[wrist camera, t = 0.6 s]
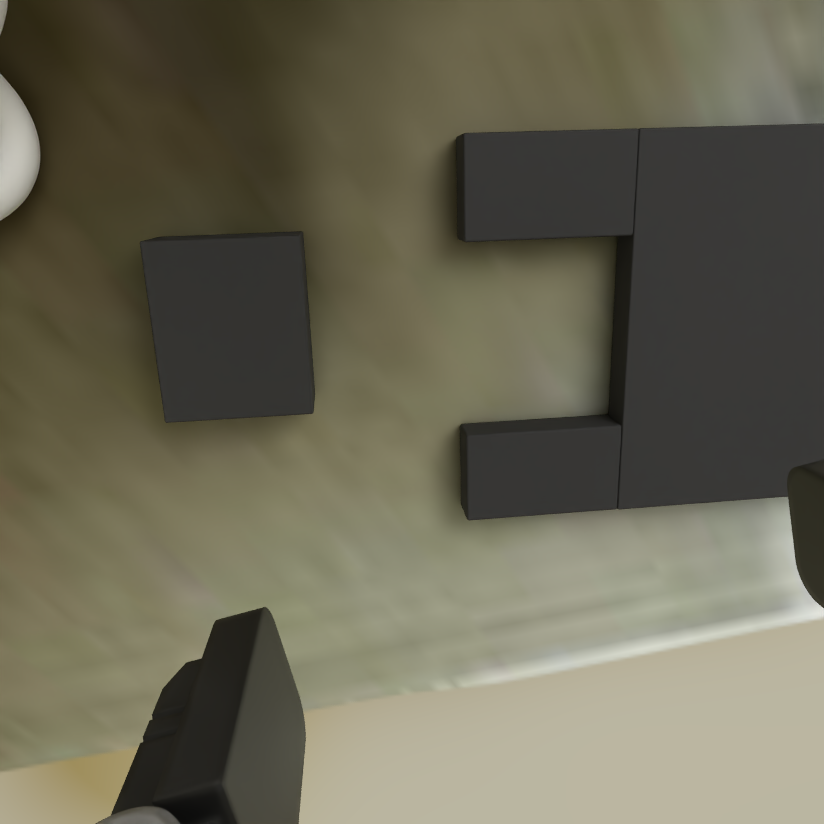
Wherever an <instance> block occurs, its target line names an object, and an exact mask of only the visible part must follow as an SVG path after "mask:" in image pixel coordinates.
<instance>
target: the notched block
mask: <svg viewBox="0 0 824 824" xmlns="http://www.w3.org/2000/svg"><path fill="white" fill-rule="evenodd" d="M456 165H457V238H458V239H459V240H462V241H464V242H481V241H506V240H531V239H556V238H580V237H605V236H618V243H617V263H616V282H615V302H614V321H613V341H612V360H611V380H610V399H609V415H595V416H579V417H563V418H548V419H532V420H516V421H501V422H485V423H469V424H461V425H460V465H461V505H462V508H463V510H464V513H465V515H466V517H467V520H480V519H493V518H506V517H519V516H533V515H546V514H559V513H572V512H585V511H598V510H611V509H629V508H643V507H656V506H669V505H682V504H695V503H708V502H721V501H734V500H747V499H760V498H773V497H786V496H788V490H787V478H788V474H789V472H790V470H791V469H792V468H794V467H797V466H801V465H805V464H808V463H812V462H816V461H820V460H823V459H824V124H789V125H751V126H713V127H675V128H640V129H601V130H563V131H525V132H487V133H464V134H462V135H460V136H458V137H457V138H456Z"/></svg>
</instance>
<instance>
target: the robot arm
mask: <svg viewBox="0 0 824 824" xmlns="http://www.w3.org/2000/svg"><path fill="white" fill-rule="evenodd" d="M787 490H788V499H789V507H790V516H791V524H792V533H793V542H794V550H795V559H796V565H797V569H798V572H799V575H800V578H801V580H802V582H803V584H804V586H805V588H806V589H807V591H808V592H809V594H810V595H811V596H812V598H813V599H814V600H815V601H816V602H817V603H818V604H819V605H821V606H822V607H823V608H824V459H823V460H820V461H816V462H812V463H808V464H805V465H801V466H797V467H794V468H792V469H791V470H790V472H789V474H788V478H787ZM152 718H153V720H150V721H149V724H148V726H147V728H146V731H145V733H144V736H143V743H140V745H139V748H138V750H137V753H136V755H135V758H134V760H133V763H132V765H131V767H130V770H129V772H128V775H127V777H126V780H125V782H124V785H123V787H122V789H121V792H120V794H119V797H118V799H117V802H116V804H115V806H114V809H113V811H112V814H111V816H109V817H107V818H105V819H103V820H101V821H100V822H98V823H96V824H298V822H299V811H300V800H301V799H300V798H301V788H302V787H301V786H302V776H303V765H304V753H305V741H306V737H305V736H306V732H305V721H304V715H303V709H302V705H301V700H300V697H299V694H298V690H297V687H296V684H295V681H294V678H293V675H292V672H291V669H290V666H289V663H288V660H287V657H286V654H285V651H284V648H283V645H282V642H281V639H280V636H279V633H278V630H277V627H276V624H275V622H274V619H273V617H272V614H271V613H270V611H269V610H268V609H267V608H266V607H263V608H259V609H256V610H252V611H248V612H244V613H241V614H237V615H233V616H229V617H226V618H222V619H218V620H216V621H215V623H214V625H213V628H212V631H211V634H210V636H209V639H208V642H207V645H206V648H205V651H204V654H203V657H202V659H199V660H195V661H191V662H187V663H185V665H184V666H183V667H182V668H181V669H180V670H179V671H178V672H177V673H176V675H175V676H174V677H173V678H172V679H171V680H170V681H169V682H168V684H167V685H166V686H165V687H164V688H163V689H162V692H161V694H160V697H159V699H158V702H157V704H156V706H155V709H154V711H153V714H152Z"/></svg>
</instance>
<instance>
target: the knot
mask: <svg viewBox="0 0 824 824" xmlns="http://www.w3.org/2000/svg"><path fill="white" fill-rule="evenodd" d="M7 6H8V0H0V35H1V32H2V28H3V25H4V21H5V17H6V13H7ZM39 167H40V144H39V138H38V134H37V131H36V128H35V125H34V122H33V120H32V118H31V116H30V114H29V112H28V110H27V108H26V106H25V105H24V103H23V101H22V100H21V98H20V97H19V95H18V94H17V93H16V91H15V90H14V89H13V88H12V86H11V85H10V84H9V83H8V82H7V81H6V79H5V78H4V77H3V76H2V75H1V74H0V220H2V219H4V218H5V217H7V216H8V215H10V214H11V213H12V212H13V211H15V210H16V209H17V208H18V207H19V206H20V205H21V204H22V203H23V202H24V200H25V199H26V198H27V197H28V195H29V193H30V192H31V190H32V188H33V186H34V184H35V181H36V179H37V176H38V172H39Z"/></svg>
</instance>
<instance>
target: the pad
mask: <svg viewBox="0 0 824 824" xmlns="http://www.w3.org/2000/svg"><path fill="white" fill-rule="evenodd" d="M140 247H141V254H142V261H143V268H144V276H145V283H146V290H147V297H148V304H149V311H150V318H151V325H152V332H153V340H154V347H155V354H156V361H157V368H158V375H159V382H160V389H161V396H162V404H163V411H164V418H165V422H166V423H169V422H186V421H202V420H218V419H234V418H251V417H267V416H283V415H300V414H312V413H313V412H314V401H315V386H314V372H313V359H312V345H311V332H310V319H309V305H308V292H307V279H306V265H305V252H304V238H303V232H301V231H300V232H274V233H248V234H222V235H196V236H170V237H157V238H153V239H149V240H145V241H141V242H140Z"/></svg>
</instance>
